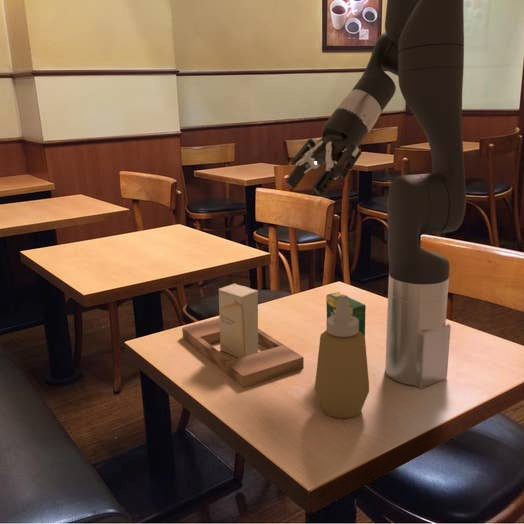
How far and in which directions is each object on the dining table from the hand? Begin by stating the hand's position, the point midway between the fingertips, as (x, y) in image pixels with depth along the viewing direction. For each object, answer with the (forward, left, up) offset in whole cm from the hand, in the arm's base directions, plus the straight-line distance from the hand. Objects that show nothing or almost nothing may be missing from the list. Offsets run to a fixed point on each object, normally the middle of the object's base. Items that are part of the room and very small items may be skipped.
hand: (302, 188), depth 105 cm
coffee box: (-17, +4, -29) cm, 34 cm away
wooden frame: (0, +15, -29) cm, 32 cm away
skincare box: (0, +14, -29) cm, 32 cm away
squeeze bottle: (-26, +12, -29) cm, 41 cm away
